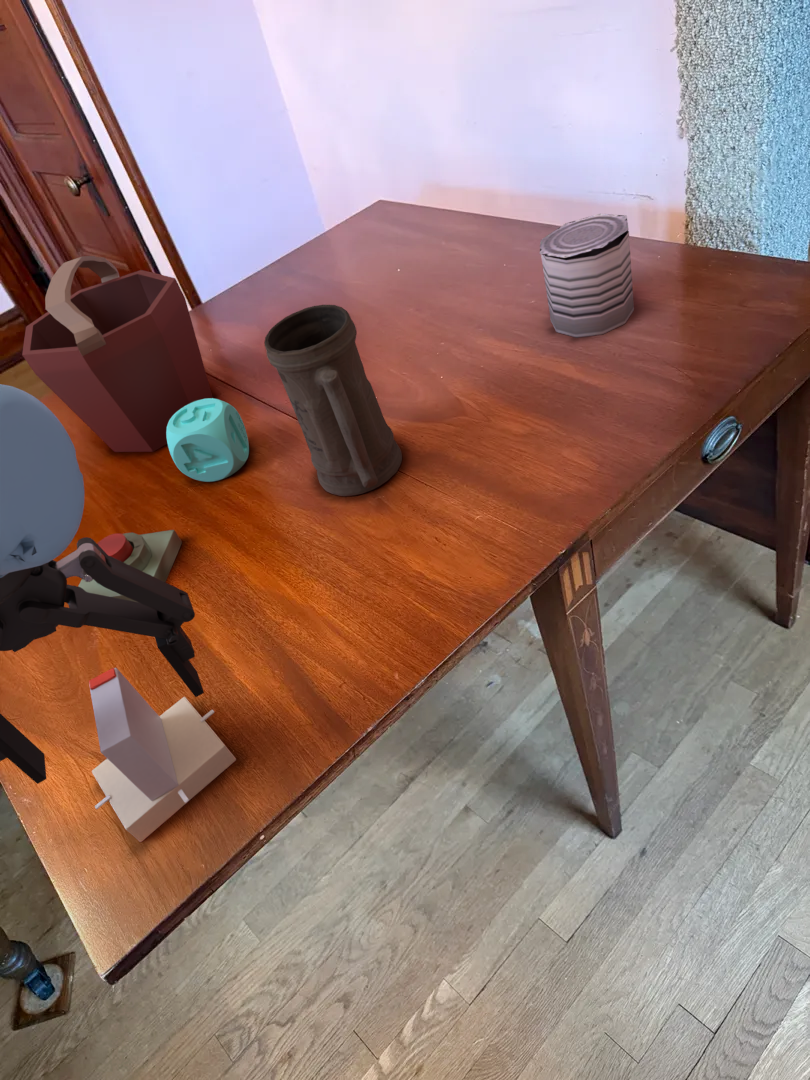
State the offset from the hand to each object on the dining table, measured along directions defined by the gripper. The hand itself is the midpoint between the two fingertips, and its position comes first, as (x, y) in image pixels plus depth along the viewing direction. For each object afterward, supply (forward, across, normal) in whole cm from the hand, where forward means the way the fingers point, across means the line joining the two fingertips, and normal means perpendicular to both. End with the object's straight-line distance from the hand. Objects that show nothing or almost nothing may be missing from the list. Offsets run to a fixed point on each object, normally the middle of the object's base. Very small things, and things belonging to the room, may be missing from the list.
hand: (120, 725), depth 61 cm
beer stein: (+8, -32, -26) cm, 42 cm away
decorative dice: (+8, -17, -44) cm, 48 cm away
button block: (+8, -2, -30) cm, 31 cm away
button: (+4, -2, -30) cm, 30 cm away
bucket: (+8, -12, -64) cm, 65 cm away
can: (+7, -71, -35) cm, 80 cm away
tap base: (+8, 0, 0) cm, 8 cm away
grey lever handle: (+6, 0, 0) cm, 6 cm away
